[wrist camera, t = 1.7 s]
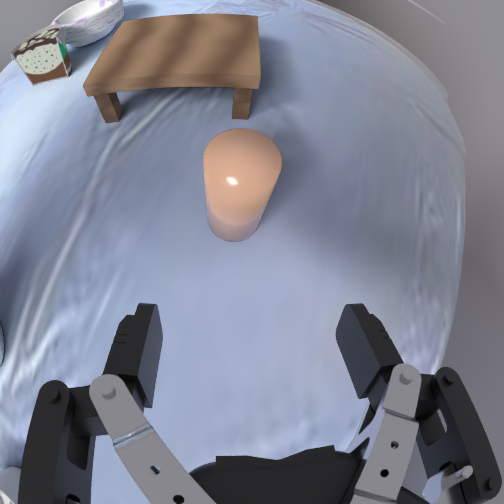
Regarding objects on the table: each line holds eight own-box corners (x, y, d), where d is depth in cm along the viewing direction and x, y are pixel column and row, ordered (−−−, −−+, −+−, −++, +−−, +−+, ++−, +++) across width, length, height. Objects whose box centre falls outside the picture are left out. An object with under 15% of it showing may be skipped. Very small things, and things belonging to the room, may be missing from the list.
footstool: (101, 126, 30) (82, 85, 22) (131, 57, 34) (123, 21, 26) (251, 122, 32) (260, 76, 24) (251, 54, 36) (257, 16, 28)
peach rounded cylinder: (206, 241, 28) (200, 191, 17) (208, 192, 29) (206, 127, 19) (259, 242, 28) (284, 195, 18) (258, 194, 30) (279, 131, 19)
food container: (89, 55, 34) (76, 16, 24) (75, 76, 32) (58, 34, 22) (42, 66, 32) (27, 33, 23) (28, 87, 31) (8, 53, 21)
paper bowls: (138, 14, 38) (134, -13, 31) (105, 50, 34) (96, 18, 27) (83, 23, 37) (76, -1, 29) (47, 60, 33) (36, 34, 25)
